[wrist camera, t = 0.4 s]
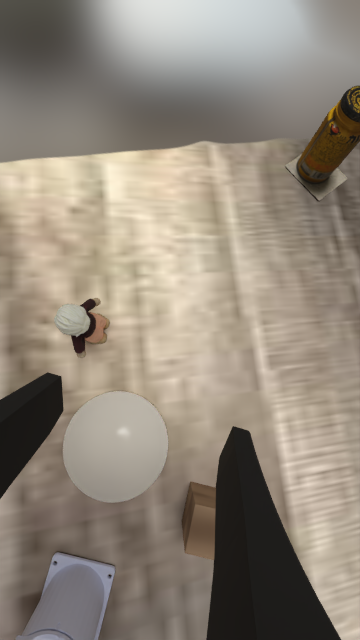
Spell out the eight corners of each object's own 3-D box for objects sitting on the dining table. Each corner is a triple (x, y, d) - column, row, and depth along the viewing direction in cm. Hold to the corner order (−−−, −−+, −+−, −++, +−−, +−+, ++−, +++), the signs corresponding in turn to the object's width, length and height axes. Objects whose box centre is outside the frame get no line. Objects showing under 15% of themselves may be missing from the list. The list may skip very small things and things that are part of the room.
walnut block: (210, 528, 35) (220, 561, 29) (181, 521, 35) (185, 552, 29) (218, 488, 36) (229, 512, 30) (190, 481, 36) (195, 503, 30)
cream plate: (153, 510, 35) (153, 514, 34) (50, 485, 35) (48, 488, 34) (178, 404, 37) (178, 404, 37) (83, 380, 37) (81, 380, 37)
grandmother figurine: (86, 307, 39) (49, 279, 27) (112, 307, 39) (87, 280, 27) (82, 359, 38) (42, 355, 25) (109, 359, 38) (82, 355, 26)
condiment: (313, 145, 47) (363, 70, 35) (346, 179, 46) (410, 114, 34) (284, 166, 45) (326, 96, 34) (318, 202, 45) (372, 142, 33)
